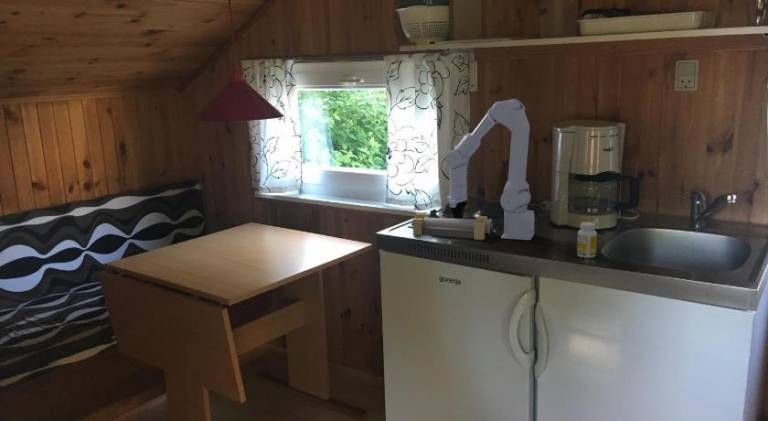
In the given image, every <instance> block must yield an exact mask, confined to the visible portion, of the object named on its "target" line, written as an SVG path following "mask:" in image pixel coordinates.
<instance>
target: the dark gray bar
mask: <svg viewBox="0 0 768 421" xmlns="http://www.w3.org/2000/svg"><path fill="white" fill-rule="evenodd" d="M422 236H433V237H446V238H448V237H449V238H457V239H459V238H462V239H473V240H474V229H459V228H444V227H429V226H424V227H423V235H422Z"/></svg>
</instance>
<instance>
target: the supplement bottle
mask: <svg viewBox="0 0 768 421" xmlns="http://www.w3.org/2000/svg"><path fill="white" fill-rule="evenodd" d="M595 229H596V223H594V222H589V221H585V222H581V223H580V229H579V230H578V231H577V243H576V244H577V245H576V255H577V257H579V258H583V257H584V258H585V259H589V258H595V256H596V255H597V240H598V233H597V231H596V230H595Z"/></svg>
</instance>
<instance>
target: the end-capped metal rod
mask: <svg viewBox="0 0 768 421" xmlns="http://www.w3.org/2000/svg"><path fill="white" fill-rule="evenodd" d="M427 215H428V214H427V212H420V211H419V212H416V213H415V217H414V218H413V219H412V230H413V232H412V234H413V236H421V237H422V236H424V235H423V227H424V218H427ZM475 218H476V222H475V223H474V239H473V240H476V241H484V240H485V239H486V235H485V221H486V220H488V216H486V215H485V216H483V215H478V216H477V217H475Z"/></svg>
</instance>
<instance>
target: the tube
mask: <svg viewBox="0 0 768 421" xmlns="http://www.w3.org/2000/svg"><path fill="white" fill-rule="evenodd" d="M475 222H476V219H474V218H463V219H454V218H451V217H450V218H447V217H446V218H445V217H424V226H429V227H444V228H459V229H474V223H475ZM490 228H492V230H493V229H494V228H493V220H492V218H490V219H487V220H486V221H485V233H488V234H490Z"/></svg>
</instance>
